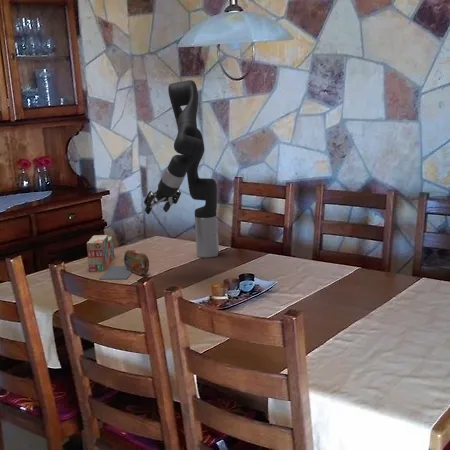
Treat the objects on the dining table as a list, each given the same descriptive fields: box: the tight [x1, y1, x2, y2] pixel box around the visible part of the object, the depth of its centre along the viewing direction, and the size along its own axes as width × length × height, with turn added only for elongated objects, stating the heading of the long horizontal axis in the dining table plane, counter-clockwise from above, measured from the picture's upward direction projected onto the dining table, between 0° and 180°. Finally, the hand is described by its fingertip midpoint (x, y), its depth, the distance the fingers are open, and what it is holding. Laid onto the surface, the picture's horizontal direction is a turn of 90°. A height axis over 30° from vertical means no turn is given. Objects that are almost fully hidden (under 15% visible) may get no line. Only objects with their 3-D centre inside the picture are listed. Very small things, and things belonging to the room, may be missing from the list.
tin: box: [123, 249, 150, 276], centre depth 250 cm, size 15×3×8 cm, turn 40°
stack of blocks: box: [86, 234, 115, 272], centre depth 264 cm, size 21×6×12 cm, turn 178°
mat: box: [98, 265, 133, 281], centre depth 252 cm, size 11×17×1 cm, turn 174°
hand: (155, 211), depth 243 cm, fingers open, 8 cm apart
